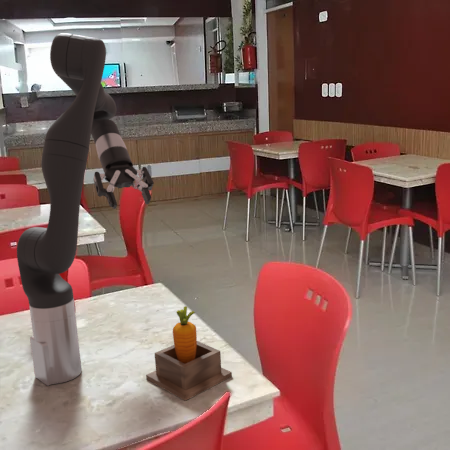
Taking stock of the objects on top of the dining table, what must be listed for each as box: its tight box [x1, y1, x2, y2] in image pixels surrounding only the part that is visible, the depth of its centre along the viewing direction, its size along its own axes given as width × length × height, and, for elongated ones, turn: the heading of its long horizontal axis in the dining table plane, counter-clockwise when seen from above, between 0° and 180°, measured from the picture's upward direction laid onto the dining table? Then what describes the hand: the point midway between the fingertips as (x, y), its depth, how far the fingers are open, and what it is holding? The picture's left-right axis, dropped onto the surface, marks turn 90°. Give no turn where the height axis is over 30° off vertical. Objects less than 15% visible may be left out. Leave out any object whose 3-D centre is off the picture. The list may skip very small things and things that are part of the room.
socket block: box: [145, 340, 233, 402], centre depth 117 cm, size 13×13×6 cm
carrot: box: [172, 305, 198, 364], centre depth 116 cm, size 5×5×15 cm
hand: (132, 204), depth 135 cm, fingers open, 8 cm apart
